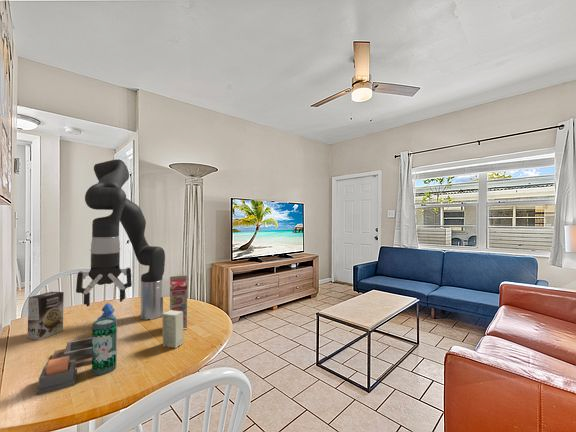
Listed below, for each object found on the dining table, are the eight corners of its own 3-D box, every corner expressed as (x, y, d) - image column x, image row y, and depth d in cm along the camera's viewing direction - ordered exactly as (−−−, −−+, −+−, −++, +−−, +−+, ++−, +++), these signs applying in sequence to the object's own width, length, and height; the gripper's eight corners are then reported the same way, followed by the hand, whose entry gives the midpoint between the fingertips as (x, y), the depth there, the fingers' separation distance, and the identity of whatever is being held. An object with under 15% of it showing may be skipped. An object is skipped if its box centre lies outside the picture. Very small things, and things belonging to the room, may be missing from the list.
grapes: (92, 332, 112) (92, 303, 112) (111, 327, 117) (111, 299, 117) (99, 341, 104) (99, 309, 104) (119, 336, 109) (119, 305, 109)
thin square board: (113, 342, 103) (113, 331, 103) (113, 358, 92) (113, 346, 92) (54, 354, 94) (54, 342, 94) (46, 374, 82) (47, 360, 82)
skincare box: (183, 343, 103) (184, 311, 103) (175, 349, 99) (175, 315, 99) (170, 341, 105) (170, 309, 105) (161, 346, 101) (161, 313, 101)
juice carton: (169, 325, 120) (170, 275, 120) (185, 323, 122) (186, 274, 122) (169, 331, 114) (170, 278, 114) (186, 329, 116) (187, 277, 116)
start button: (69, 365, 82) (69, 355, 82) (67, 373, 78) (67, 362, 78) (49, 370, 79) (49, 360, 79) (46, 378, 75) (46, 367, 75)
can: (90, 376, 81) (90, 326, 81) (95, 366, 87) (95, 319, 87) (114, 372, 84) (114, 323, 84) (117, 362, 89) (118, 316, 89)
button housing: (77, 371, 84) (77, 358, 84) (74, 385, 77) (74, 370, 77) (42, 379, 80) (42, 366, 80) (36, 394, 73) (36, 379, 73)
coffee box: (40, 340, 105) (40, 298, 105) (26, 338, 106) (27, 297, 106) (64, 330, 113) (64, 291, 113) (51, 329, 115) (51, 290, 115)
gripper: (131, 248, 92) (130, 297, 92) (78, 251, 85) (77, 303, 85) (132, 251, 86) (131, 303, 86) (75, 254, 78) (74, 311, 78)
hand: (104, 303), depth 85 cm, fingers open, 8 cm apart
